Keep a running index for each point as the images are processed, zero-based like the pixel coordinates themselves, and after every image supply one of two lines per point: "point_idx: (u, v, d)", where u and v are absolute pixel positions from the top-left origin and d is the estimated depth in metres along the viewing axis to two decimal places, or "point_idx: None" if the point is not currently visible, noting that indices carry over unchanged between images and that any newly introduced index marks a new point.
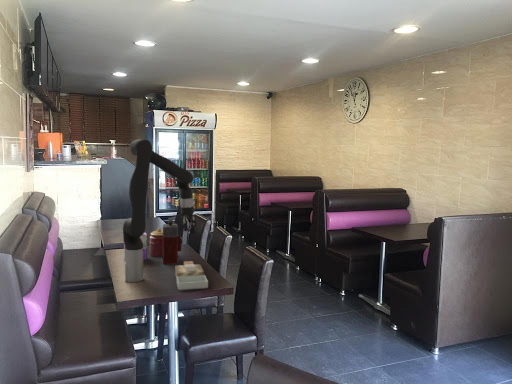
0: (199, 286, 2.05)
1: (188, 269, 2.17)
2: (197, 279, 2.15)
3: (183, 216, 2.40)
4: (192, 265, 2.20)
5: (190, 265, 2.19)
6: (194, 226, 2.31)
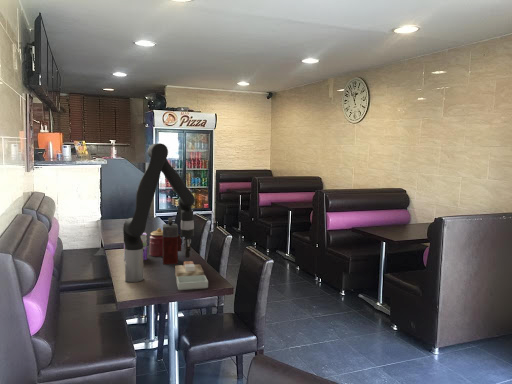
0: (199, 286, 2.05)
1: (188, 269, 2.17)
2: (197, 279, 2.15)
3: None
4: (192, 265, 2.20)
5: (190, 265, 2.19)
6: (188, 250, 2.29)
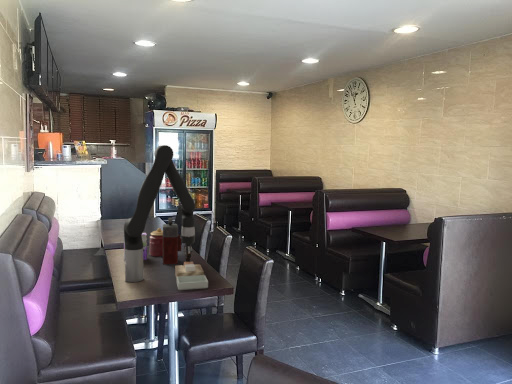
0: (199, 286, 2.05)
1: (188, 269, 2.17)
2: (197, 279, 2.15)
3: None
4: (192, 265, 2.19)
5: (190, 266, 2.19)
6: (188, 257, 2.25)
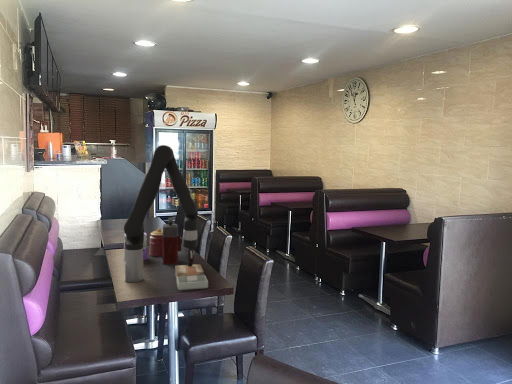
0: (199, 286, 2.05)
1: None
2: (197, 279, 2.15)
3: None
4: (194, 281, 2.10)
5: None
6: (190, 262, 2.15)
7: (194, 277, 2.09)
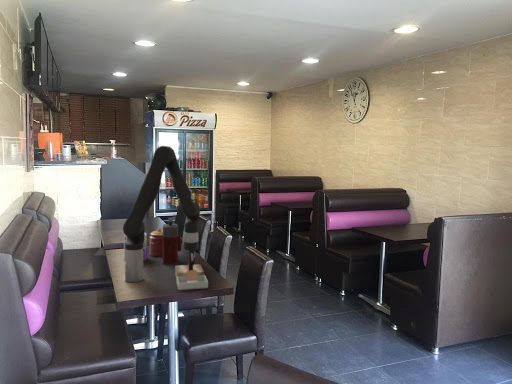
0: (199, 286, 2.05)
1: None
2: (197, 279, 2.15)
3: None
4: None
5: None
6: (191, 264, 2.11)
7: None
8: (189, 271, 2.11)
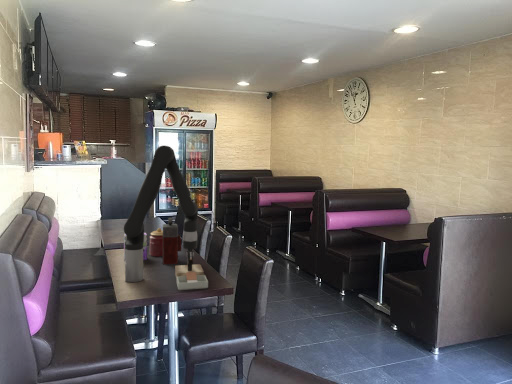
0: (199, 286, 2.05)
1: None
2: (197, 279, 2.15)
3: None
4: None
5: None
6: (190, 263, 2.14)
7: None
8: (188, 272, 2.12)
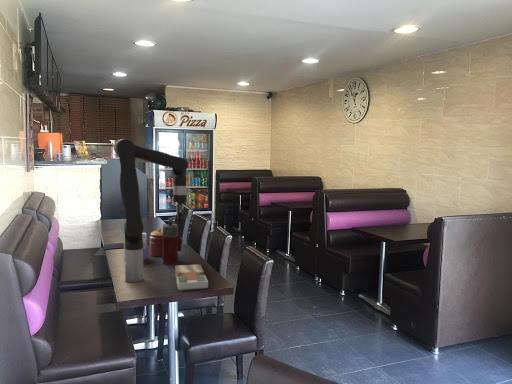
0: (199, 286, 2.05)
1: None
2: (197, 279, 2.15)
3: None
4: None
5: None
6: (180, 216, 2.24)
7: None
8: (188, 272, 2.12)
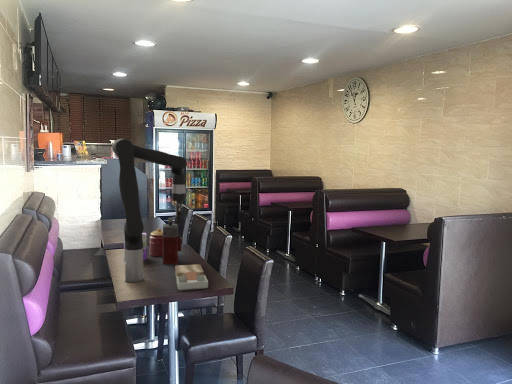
0: (199, 286, 2.05)
1: None
2: (197, 279, 2.15)
3: None
4: None
5: None
6: (179, 215, 2.24)
7: None
8: (188, 272, 2.12)
